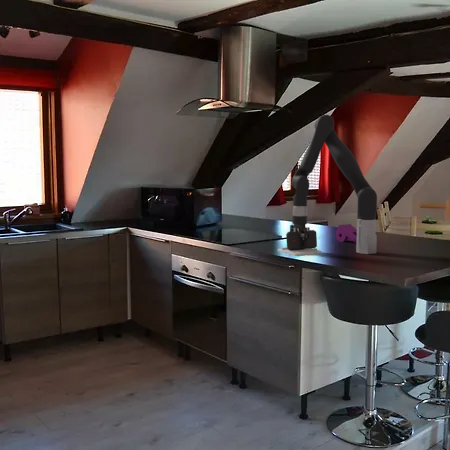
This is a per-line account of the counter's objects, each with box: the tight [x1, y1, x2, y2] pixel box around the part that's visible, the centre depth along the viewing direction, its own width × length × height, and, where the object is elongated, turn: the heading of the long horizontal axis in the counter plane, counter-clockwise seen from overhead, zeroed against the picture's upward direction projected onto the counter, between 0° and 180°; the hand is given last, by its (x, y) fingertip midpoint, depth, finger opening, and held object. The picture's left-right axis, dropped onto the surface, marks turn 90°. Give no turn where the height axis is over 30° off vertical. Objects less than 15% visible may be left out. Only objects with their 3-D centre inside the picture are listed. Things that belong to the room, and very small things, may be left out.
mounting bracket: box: [335, 223, 357, 243], centre depth 313 cm, size 9×8×18 cm
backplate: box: [277, 247, 322, 257], centre depth 279 cm, size 16×16×1 cm
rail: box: [281, 247, 318, 252], centre depth 279 cm, size 10×15×1 cm, turn 117°
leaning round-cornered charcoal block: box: [285, 229, 318, 250], centre depth 279 cm, size 16×5×9 cm, turn 103°
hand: (299, 246), depth 279 cm, fingers open, 8 cm apart
